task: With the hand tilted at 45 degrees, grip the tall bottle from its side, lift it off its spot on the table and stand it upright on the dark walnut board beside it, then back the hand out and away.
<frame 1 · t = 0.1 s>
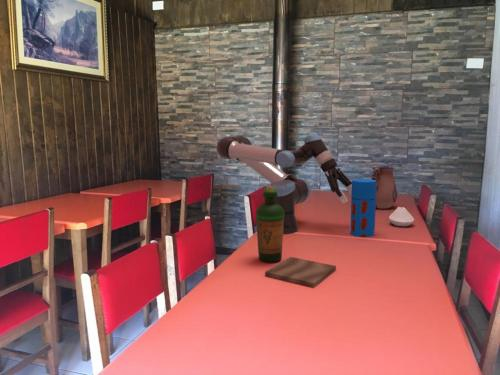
hand: (350, 200, 185), 15 cm above the table, tool tilted 35°, fingers open, 13 cm apart
bottle: (270, 260, 150), on the table
thermos: (362, 234, 183), on the table
ceramic pitcher: (380, 208, 238), on the table
walnut board: (301, 272, 136), on the table
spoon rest: (400, 223, 204), on the table
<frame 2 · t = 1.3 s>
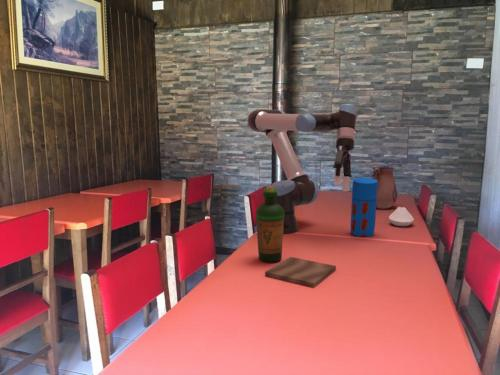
hand: (341, 188, 166), 24 cm above the table, tool tilted 20°, fingers open, 13 cm apart
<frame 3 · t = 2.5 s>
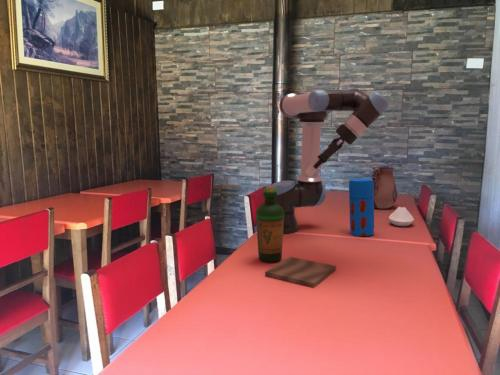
hand: (308, 172, 146), 33 cm above the table, tool tilted 45°, fingers open, 13 cm apart
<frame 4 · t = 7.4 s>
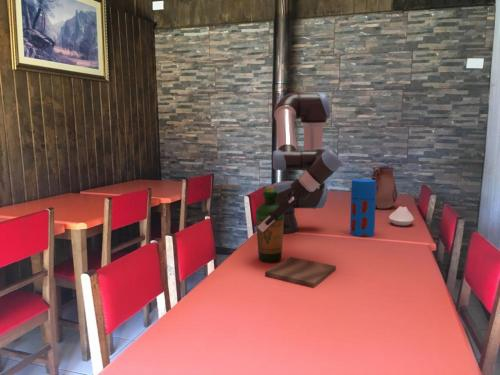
hand: (262, 225, 148), 13 cm above the table, tool tilted 45°, fingers closed on bottle, 10 cm apart
bottle: (270, 260, 150), on the table, touching gripper
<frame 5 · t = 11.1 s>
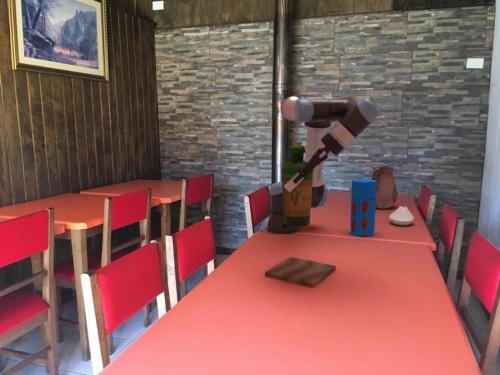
hand: (288, 186, 133), 30 cm above the table, tool tilted 45°, fingers closed on bottle, 10 cm apart
bottle: (296, 225, 135), point 17 cm above the table, touching gripper
when the fingers open (16 cm above the table, at t = 15.1 s): bottle drops 1 cm, resting on walnut board.
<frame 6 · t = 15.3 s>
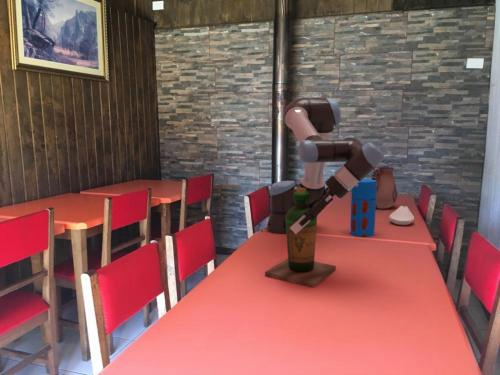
hand: (294, 225, 134), 17 cm above the table, tool tilted 45°, fingers open, 13 cm apart
bottle: (301, 269, 136), point 1 cm above the table, touching walnut board
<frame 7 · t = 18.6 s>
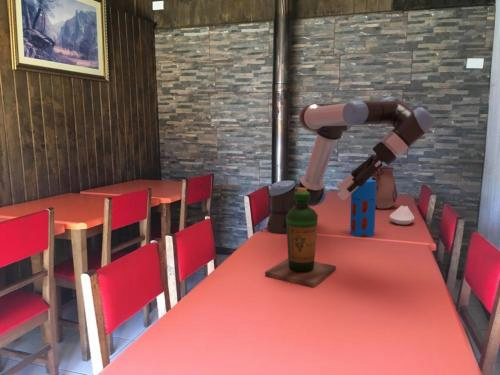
hand: (339, 193, 132), 28 cm above the table, tool tilted 45°, fingers open, 13 cm apart
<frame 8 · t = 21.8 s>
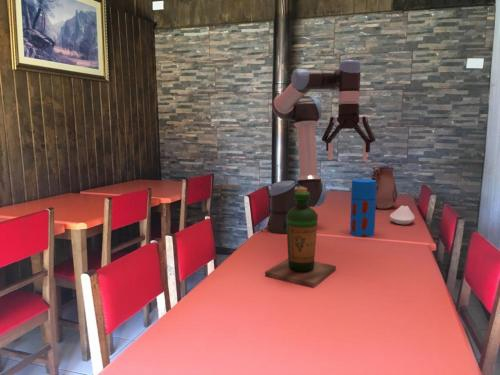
hand: (347, 160, 150), 37 cm above the table, tool pointing down, fingers open, 13 cm apart
at the end: bottle inside the target area on the walnut board (0.1 cm from its centre), point 1.3 cm above the walnut board's base; bottle tilted 0°; the gripper is holding nothing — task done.
